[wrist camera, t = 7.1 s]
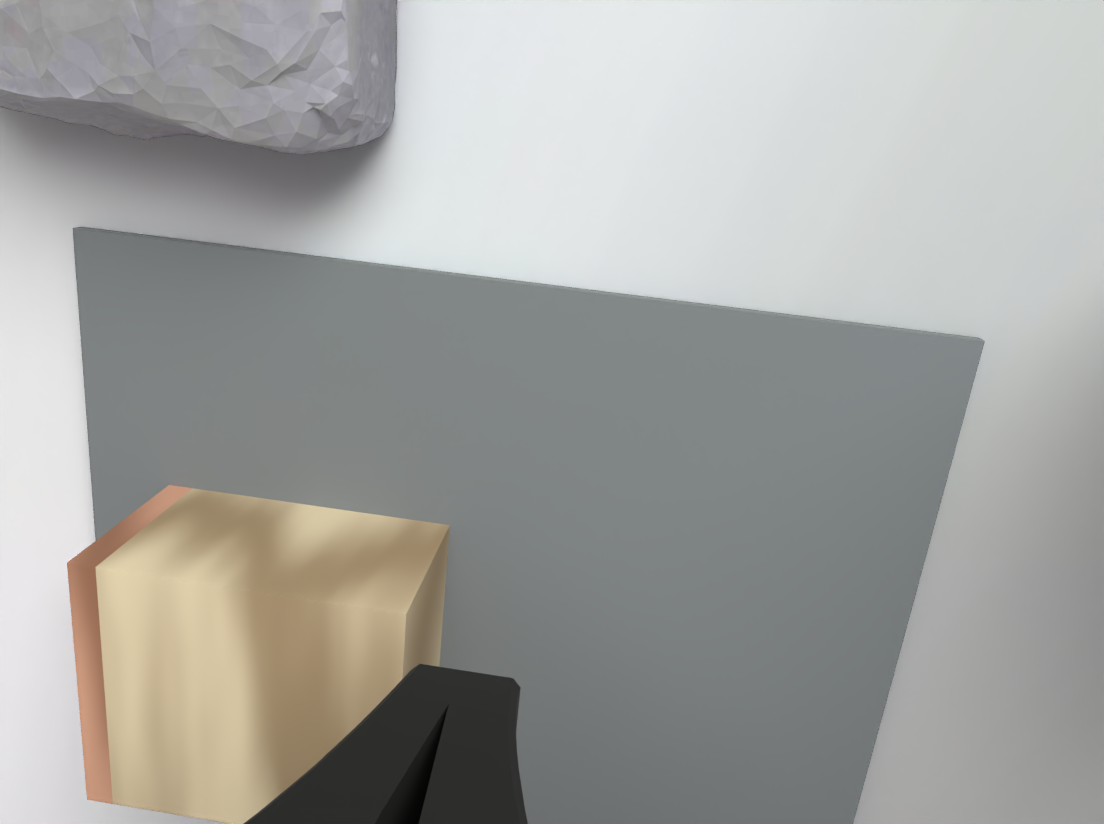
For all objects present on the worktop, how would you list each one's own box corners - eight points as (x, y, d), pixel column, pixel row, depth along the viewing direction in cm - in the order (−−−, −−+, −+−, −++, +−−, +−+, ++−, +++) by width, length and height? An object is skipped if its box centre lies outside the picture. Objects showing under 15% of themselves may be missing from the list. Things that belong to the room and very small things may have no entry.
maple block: (406, 614, 17) (67, 563, 18) (392, 851, 19) (87, 799, 20) (449, 525, 21) (169, 485, 22) (434, 730, 23) (177, 689, 24)
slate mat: (979, 338, 19) (984, 341, 18) (825, 908, 24) (827, 917, 24) (80, 227, 20) (72, 228, 20) (120, 789, 25) (114, 797, 25)
